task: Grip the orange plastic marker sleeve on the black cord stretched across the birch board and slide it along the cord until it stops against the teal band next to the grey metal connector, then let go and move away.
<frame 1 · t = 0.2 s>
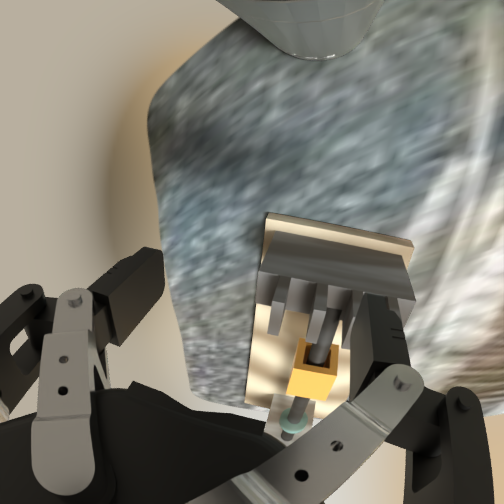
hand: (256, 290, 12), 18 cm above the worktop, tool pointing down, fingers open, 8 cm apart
sleeve: (312, 369, 27), point 8 cm above the worktop, slide at 0.0 cm
cord board: (312, 340, 36), on the worktop
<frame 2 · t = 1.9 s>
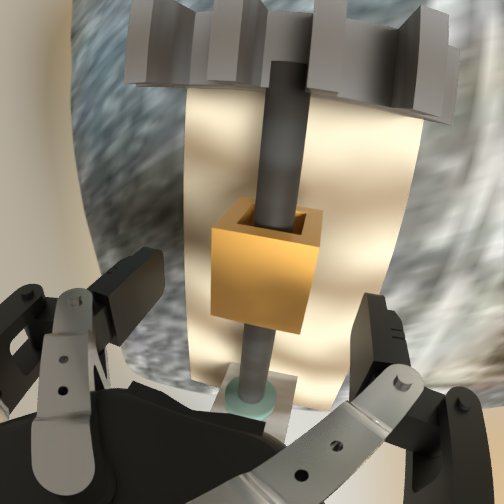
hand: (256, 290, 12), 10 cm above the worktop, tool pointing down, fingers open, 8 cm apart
sleeve: (268, 261, 13), point 8 cm above the worktop, slide at 0.0 cm
cord board: (284, 256, 22), on the worktop
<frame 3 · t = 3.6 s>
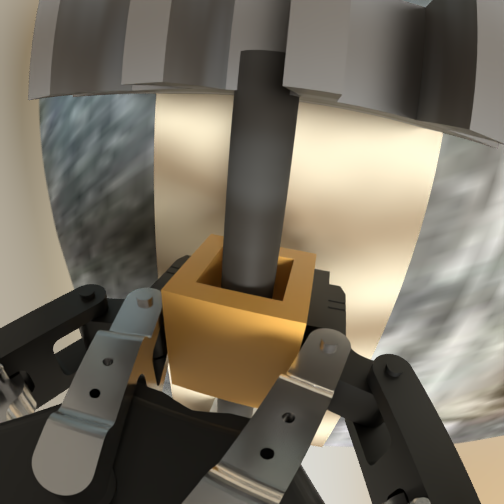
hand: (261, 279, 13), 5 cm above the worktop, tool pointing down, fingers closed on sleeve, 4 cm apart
sleeve: (243, 321, 10), point 8 cm above the worktop, slide at 0.0 cm, touching gripper
cord board: (272, 290, 19), on the worktop
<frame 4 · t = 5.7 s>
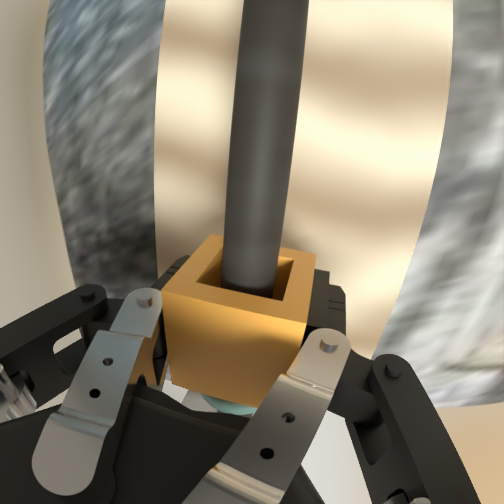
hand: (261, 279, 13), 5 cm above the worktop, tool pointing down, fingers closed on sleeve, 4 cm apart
sleeve: (243, 321, 10), point 8 cm above the worktop, slide at 7.2 cm, touching gripper
cord board: (289, 174, 16), on the worktop
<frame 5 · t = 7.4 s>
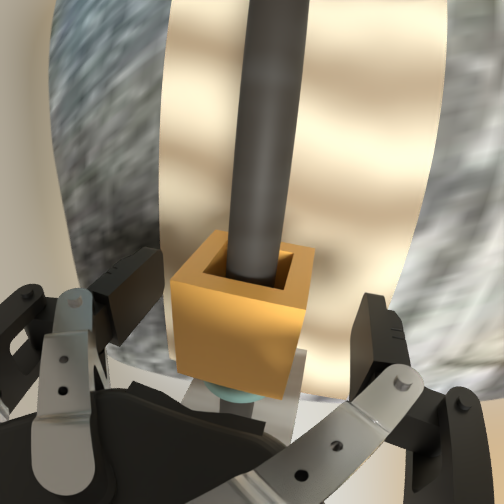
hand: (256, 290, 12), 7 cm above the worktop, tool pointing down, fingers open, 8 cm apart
sleeve: (246, 312, 11), point 8 cm above the worktop, slide at 7.2 cm
cord board: (289, 174, 16), on the worktop
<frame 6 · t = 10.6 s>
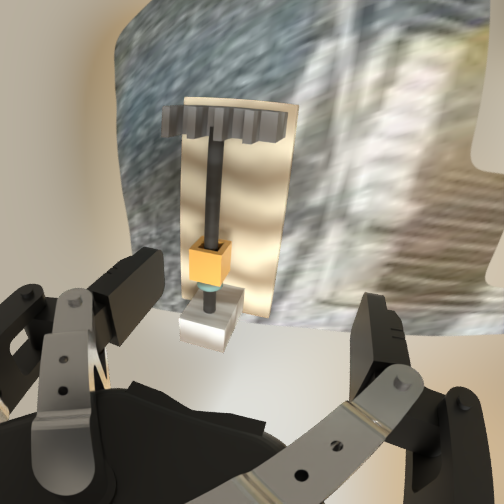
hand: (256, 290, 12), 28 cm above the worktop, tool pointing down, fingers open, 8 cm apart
sleeve: (210, 260, 36), point 8 cm above the worktop, slide at 7.2 cm
cord board: (232, 212, 41), on the worktop
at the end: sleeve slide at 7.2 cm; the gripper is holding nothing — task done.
